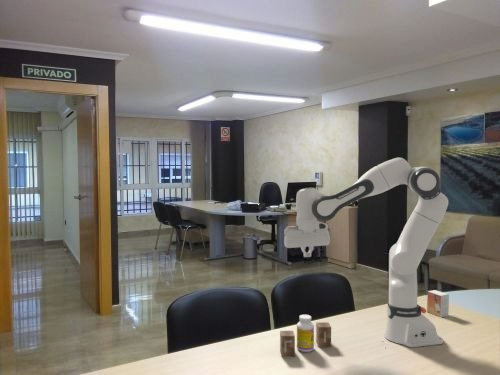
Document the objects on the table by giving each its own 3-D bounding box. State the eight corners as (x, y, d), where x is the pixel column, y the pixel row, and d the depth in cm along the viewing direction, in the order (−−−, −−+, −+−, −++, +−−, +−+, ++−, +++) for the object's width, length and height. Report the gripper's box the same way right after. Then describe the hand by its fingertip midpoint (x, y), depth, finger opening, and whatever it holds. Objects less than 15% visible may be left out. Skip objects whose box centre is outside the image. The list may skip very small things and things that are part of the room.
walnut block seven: (293, 350, 157) (293, 330, 157) (294, 357, 152) (294, 336, 152) (280, 351, 157) (280, 330, 157) (281, 357, 152) (281, 336, 152)
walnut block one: (328, 341, 166) (328, 322, 165) (331, 347, 161) (331, 327, 160) (316, 341, 166) (316, 322, 165) (318, 347, 161) (318, 327, 160)
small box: (426, 312, 199) (427, 291, 199) (434, 310, 201) (435, 289, 201) (440, 317, 192) (440, 295, 191) (448, 315, 194) (449, 294, 194)
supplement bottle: (313, 353, 155) (313, 320, 155) (296, 351, 156) (296, 319, 156) (314, 346, 162) (314, 314, 161) (297, 344, 163) (297, 313, 162)
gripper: (286, 227, 171) (287, 259, 171) (331, 224, 175) (331, 256, 176) (281, 225, 177) (282, 257, 177) (325, 223, 182) (325, 253, 182)
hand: (307, 256), depth 177 cm, fingers closed
